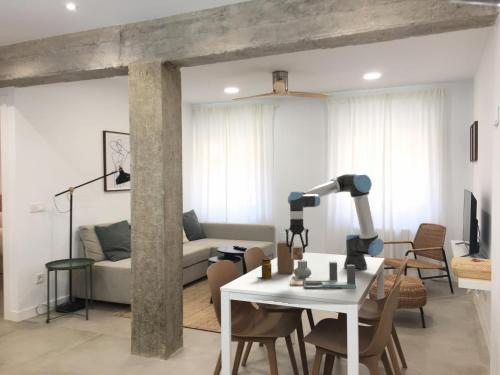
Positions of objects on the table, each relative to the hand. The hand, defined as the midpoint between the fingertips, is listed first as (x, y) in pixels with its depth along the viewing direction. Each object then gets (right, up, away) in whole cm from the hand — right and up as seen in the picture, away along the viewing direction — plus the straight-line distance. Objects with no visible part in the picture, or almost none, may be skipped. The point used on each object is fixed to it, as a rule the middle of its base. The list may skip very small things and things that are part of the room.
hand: (297, 258), depth 240 cm
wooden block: (-4, -15, +32) cm, 35 cm away
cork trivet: (0, -15, +1) cm, 15 cm away
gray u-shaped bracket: (+14, -15, +3) cm, 21 cm away
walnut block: (0, 0, 0) cm, 0 cm away
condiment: (-18, -15, +17) cm, 29 cm away
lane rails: (+14, -15, -1) cm, 20 cm away
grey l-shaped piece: (+22, -15, -6) cm, 28 cm away
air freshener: (+5, -15, +18) cm, 24 cm away
